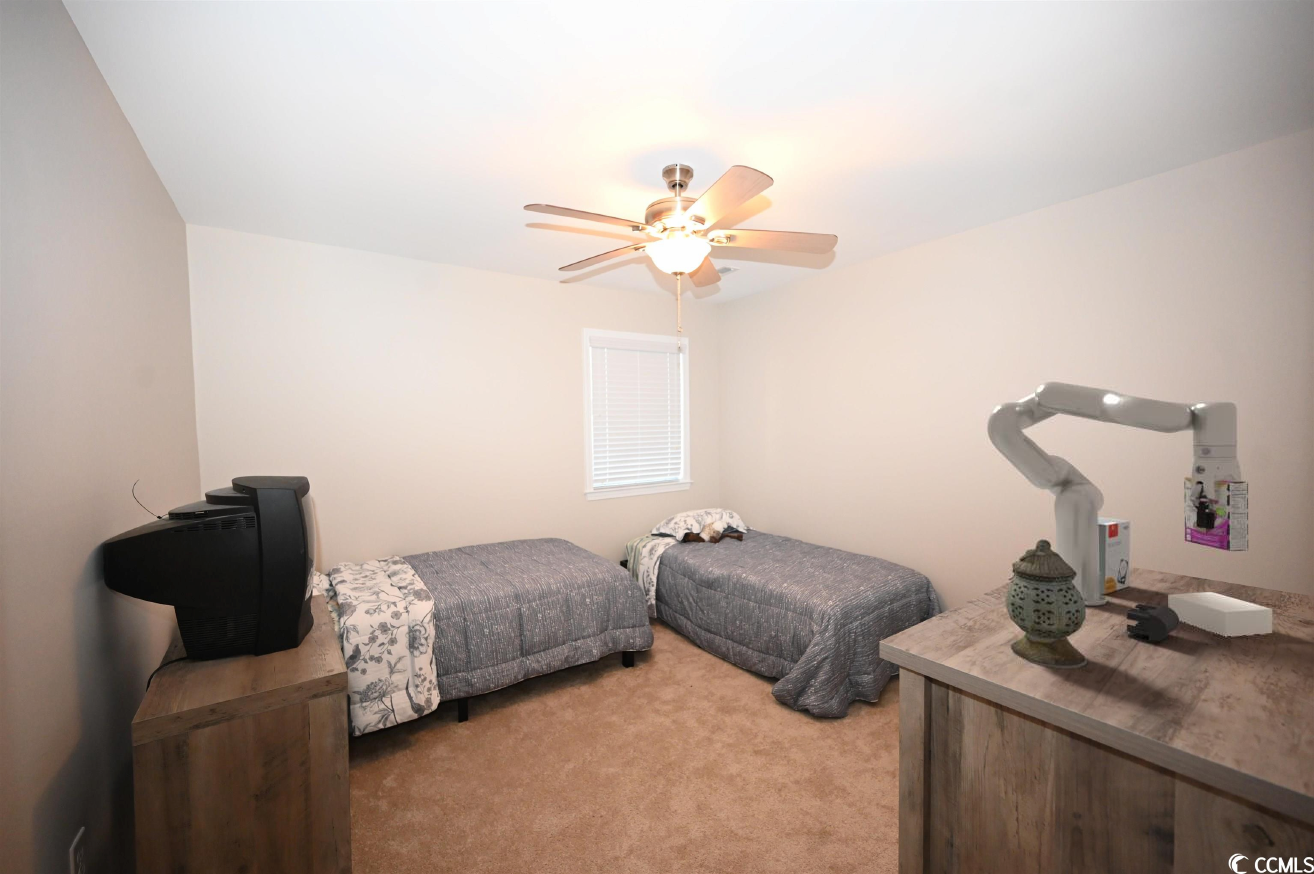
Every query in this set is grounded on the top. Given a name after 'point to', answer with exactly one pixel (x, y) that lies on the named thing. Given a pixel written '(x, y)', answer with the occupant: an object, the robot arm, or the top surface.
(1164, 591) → the top surface
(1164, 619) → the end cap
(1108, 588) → the hard drive box
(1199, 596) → the painted block
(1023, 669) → the top surface
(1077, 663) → the lantern
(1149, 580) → the top surface
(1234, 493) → the candy bar box
